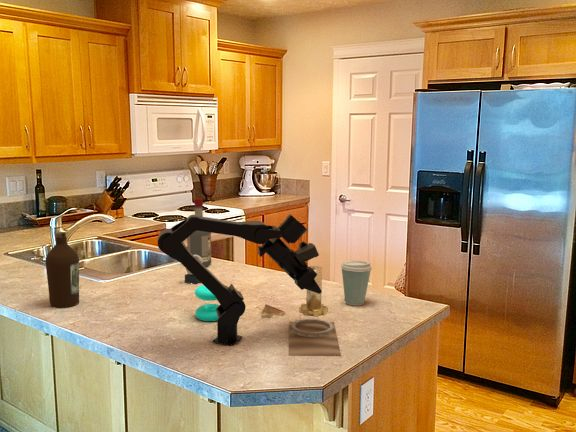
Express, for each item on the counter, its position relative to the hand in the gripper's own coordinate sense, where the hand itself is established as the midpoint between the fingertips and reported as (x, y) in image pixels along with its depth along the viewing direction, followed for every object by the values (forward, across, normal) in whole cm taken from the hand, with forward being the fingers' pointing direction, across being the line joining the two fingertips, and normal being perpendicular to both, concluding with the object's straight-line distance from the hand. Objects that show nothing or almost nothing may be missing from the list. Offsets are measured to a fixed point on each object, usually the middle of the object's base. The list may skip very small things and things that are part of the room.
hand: (318, 290), depth 162 cm
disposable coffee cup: (+24, +26, -5) cm, 36 cm away
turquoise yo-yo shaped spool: (-11, +21, +31) cm, 39 cm away
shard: (+2, +21, +18) cm, 27 cm away
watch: (-14, +64, +33) cm, 73 cm away
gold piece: (+4, 0, +6) cm, 7 cm away
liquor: (-11, +90, +30) cm, 95 cm away
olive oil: (-45, +44, +65) cm, 91 cm away
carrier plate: (+8, -5, +12) cm, 15 cm away
